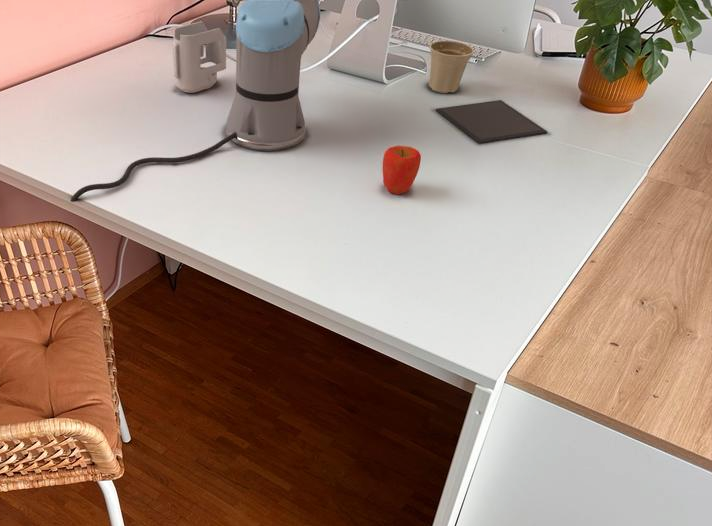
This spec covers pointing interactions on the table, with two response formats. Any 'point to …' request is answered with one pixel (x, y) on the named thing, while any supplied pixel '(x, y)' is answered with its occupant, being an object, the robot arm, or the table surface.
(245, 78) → the robot arm
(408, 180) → the red bell pepper
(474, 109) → the place mat
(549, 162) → the table surface
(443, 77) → the flower pot
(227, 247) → the table surface
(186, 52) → the grey boxy plastic piece
